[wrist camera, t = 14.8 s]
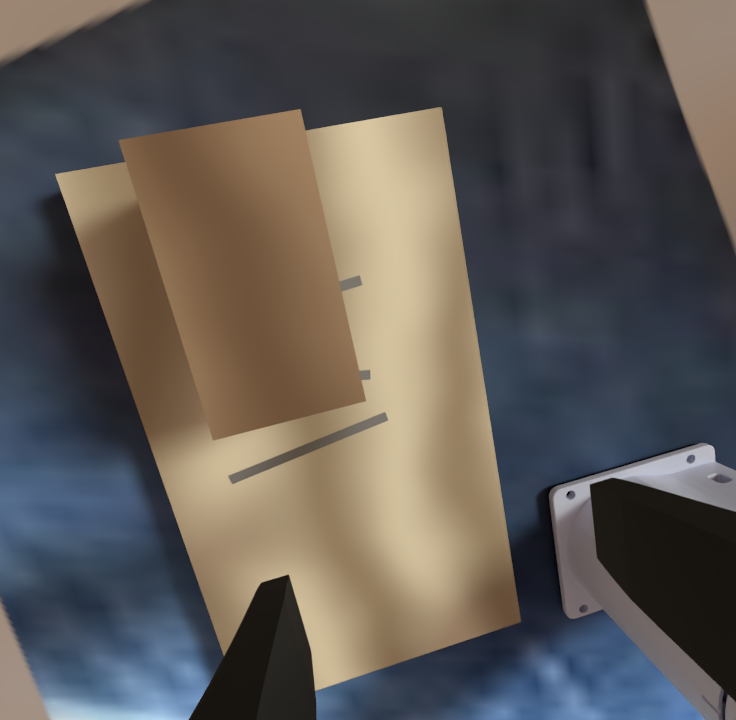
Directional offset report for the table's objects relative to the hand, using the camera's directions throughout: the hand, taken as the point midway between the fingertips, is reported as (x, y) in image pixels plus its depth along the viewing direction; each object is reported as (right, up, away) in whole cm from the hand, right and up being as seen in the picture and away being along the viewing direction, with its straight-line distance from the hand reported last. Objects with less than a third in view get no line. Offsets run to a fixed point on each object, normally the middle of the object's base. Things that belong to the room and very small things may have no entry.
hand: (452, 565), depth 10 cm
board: (-4, +2, +10) cm, 11 cm away
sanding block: (-6, +8, +7) cm, 12 cm away
